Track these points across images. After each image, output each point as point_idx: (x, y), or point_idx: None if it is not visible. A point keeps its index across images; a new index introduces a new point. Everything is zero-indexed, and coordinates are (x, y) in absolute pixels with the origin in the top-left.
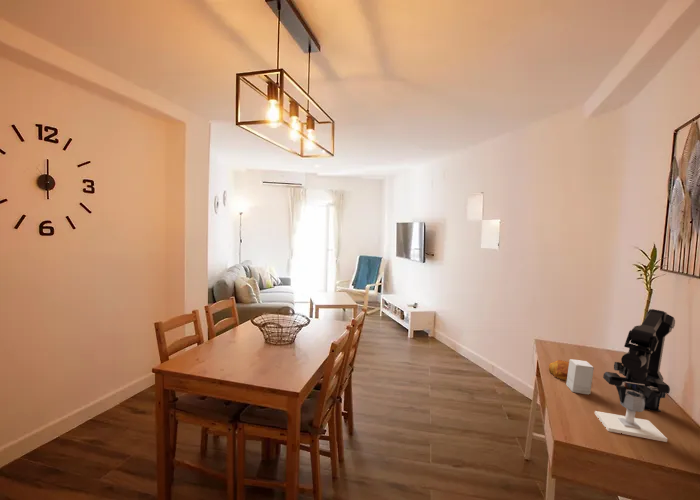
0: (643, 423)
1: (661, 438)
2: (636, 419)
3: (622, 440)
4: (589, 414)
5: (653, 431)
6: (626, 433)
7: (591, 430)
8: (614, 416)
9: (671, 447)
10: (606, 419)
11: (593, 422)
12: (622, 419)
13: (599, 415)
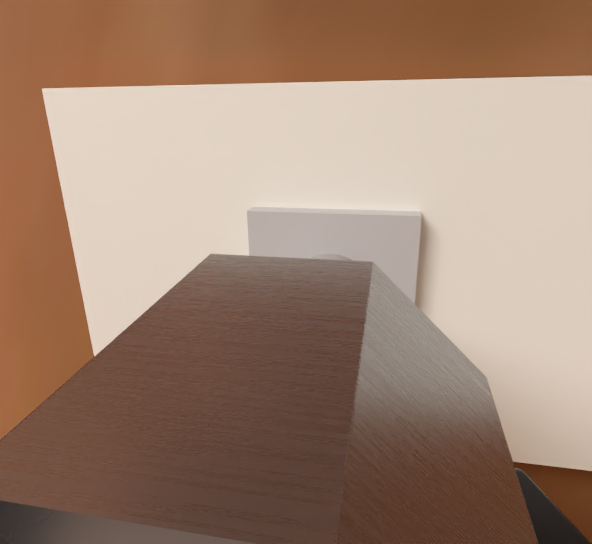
0: (544, 213)
1: (544, 461)
2: (508, 126)
3: None
4: (18, 132)
5: (543, 372)
6: None
7: (9, 414)
8: (231, 155)
9: (565, 511)
10: (122, 266)
11: (35, 290)
12: (278, 245)
13: (71, 198)
